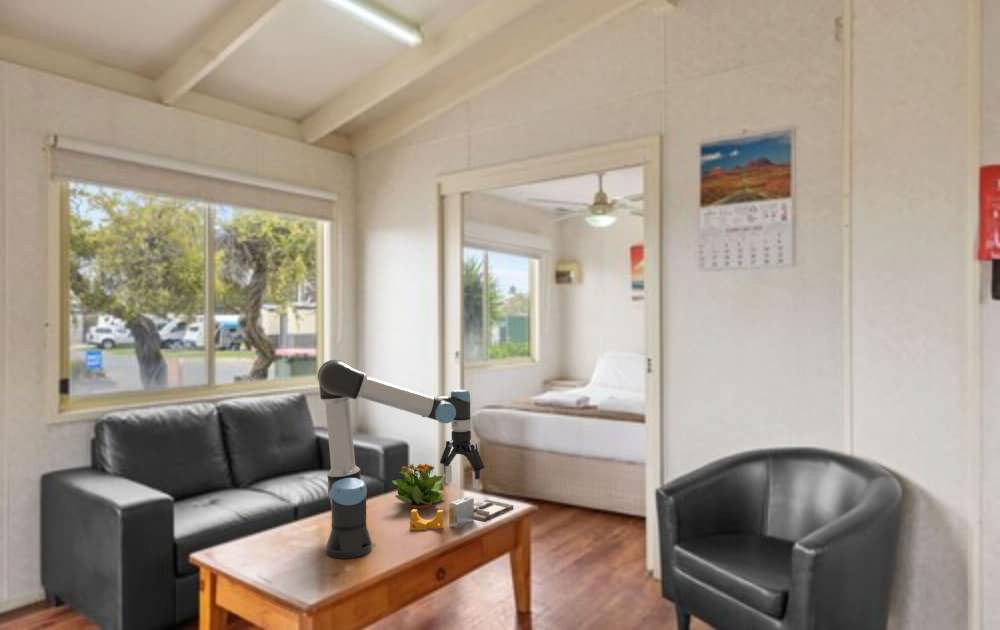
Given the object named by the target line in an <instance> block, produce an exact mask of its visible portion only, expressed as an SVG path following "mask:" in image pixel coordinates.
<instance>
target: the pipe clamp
mask: <svg viewBox="0 0 1000 630" xmlns="http://www.w3.org/2000/svg"><path fill="white" fill-rule="evenodd" d="M436 528H438V529H439V528H440V529H441V528H442V529H443V528H444V510H443V509H437V512H436V515H435V517H434V518H432V519H424V518H422V517H421V516H420V514H419V512H418V509H415V508H412V510H410V520H409V530H410V531H411V530H413V531H417V530H418V531H427V530H428V529H436ZM440 529H439V530H440ZM442 529H441V530H442Z"/></svg>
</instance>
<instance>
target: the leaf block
mask: <svg viewBox="0 0 1000 630" xmlns="http://www.w3.org/2000/svg"><path fill="white" fill-rule="evenodd" d="M474 501H475V499H474V498H473V497H470V496H469V497H468V496H464V497H461V498H459V499H455V500H454V501H450V502H448V510H449V511H448V517H449V518H448V519H449V521H448V522H449V523H448V525H449V526H448V527H450V526H451V528H455V529H459V528H461V527H463V526H466V525H468V523H469V524H470V523H474V520H475V519H474V504H475V503H474Z"/></svg>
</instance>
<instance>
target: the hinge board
mask: <svg viewBox="0 0 1000 630" xmlns="http://www.w3.org/2000/svg"><path fill="white" fill-rule="evenodd" d="M507 504H508V507H507V508H505V509H503V510H501V511H498V512H496V513H494V514H491V515H489V516H488V515H484V514H480V513H477V509H481V510H484V509H486V508H489V507H491V506H493V505H495V500H490V499H485V500H481V501H478V502H475V503H474V520H477V521H482V522H486V521H488V520H490V519H493V518H495V517H496V516H499V515H501V514H504V513H506V512H508V511H510V510H513V509H514V505H513V504H509V503H507Z"/></svg>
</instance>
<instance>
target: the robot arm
mask: <svg viewBox="0 0 1000 630" xmlns="http://www.w3.org/2000/svg"><path fill="white" fill-rule="evenodd" d="M317 381H318V386H319V396H320V400H321V401H322V402H323V403H324V404H325V415H326V424H327V425H326V426H327V435H328V447H329V458H330V459H329V460H330V469H329V471H328V472H327V473H326V475H327V486H328V487H327V494H328V498H329V500H330V506H331V507H330V508H331V530H330V534H329V536H328V537H329V538H328V541H327V544H326V547H325V548H326V556H328V557H330V558H334V559H339V560H341V559H342V560H343V559H355V558H358V557H362V556H366V555H367V554H369V553H370V552H371V551H372V548H373V543H372V539H371V537H370V536H371V535H370V533H369V529H368V527H367V526H368V525H367V493H368V489H367V485H366V482H365V481H364V480H363V479H362V478H361V468H360V467H359V466H357V465H356V457H355V446H354V445H355V444H354V436H353V435H354V433H353V424H352V413H351V403H350V402H351V399H353V400H358V399H363V400H366V401H367V400H368V401H371V402H374V403H377V404H381V405H383V406H387V407H390V408H394V409H396V410H397V409H398V410H401V411H405V412H408V413H410V414H414V415H418V416H421V417H422V418H427V419H429V420H430V419H431V420H434V421H437V422H439V423H440V424H449V423H450V424H451V426H450V427H451V430H452V431H450V432H451V434H450V435H451V439H450V440H447V441H446V442H445V448H444V450H443V453H442V454H441V458H440V461H439V463H440V464H442V465H443V466H444V467H443V468H444V471H443V473H444V474H445V475H446V477H445V484H448V483H451V482H453V481H452V480H453V479H452V478H453V477H452V475H453V474H452V472H453V471H452V464H451V463H452V462H453V461H454V459H455V457H456V456H457V455H460V456H464V457H465V458H466V459H467V461H468V463H469V464H470V466H471V467H472V468H473V470H472V489H477V488H479V483H480V482H479V481H480V478H481V472H480V471H481V470H484V469H485V464H484V463H483V460H482V458H481V455H480V452H479V450H478V449H479V448H478V444H477V443H473V444H472V443H471V440H472V431H471V429H472V423H471V421H472V420H471V403H472V402H471V391H469V390H468V389H454V390H451V391H450V395H447V396H445V395H444V396H443V395H442V396H430V395H427V394H424V393H420V392H418V391H415V390H414V391H413V390H411V389H408V388H405V387H401V386H398V385H394V384H391V383H389V382H385V381H381V380H379V379H375V378H372V377H369V376H367V374H366V373H365V372H363V371H359V370H357V369H355V368H353V367H351V366H350V365H348V363H346V362H345V361H343V360H341V359H331V360H328V361H325V362H324V363H323V364H322V365H321V366H320V367H319V369H318V372H317Z"/></svg>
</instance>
